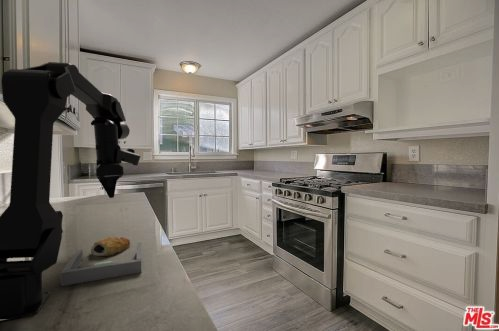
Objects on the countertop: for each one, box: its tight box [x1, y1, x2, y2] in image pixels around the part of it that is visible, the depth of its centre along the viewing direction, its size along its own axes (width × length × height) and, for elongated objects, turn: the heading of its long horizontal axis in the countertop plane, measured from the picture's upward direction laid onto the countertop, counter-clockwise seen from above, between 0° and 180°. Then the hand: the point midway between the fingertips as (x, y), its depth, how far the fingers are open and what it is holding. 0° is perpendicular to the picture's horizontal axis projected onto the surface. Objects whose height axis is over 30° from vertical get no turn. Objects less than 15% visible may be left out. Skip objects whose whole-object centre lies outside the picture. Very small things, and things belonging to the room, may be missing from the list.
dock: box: [60, 242, 142, 287], centre depth 54 cm, size 13×14×3 cm
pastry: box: [90, 236, 131, 257], centre depth 64 cm, size 9×7×4 cm
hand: (110, 193), depth 71 cm, fingers open, 9 cm apart
